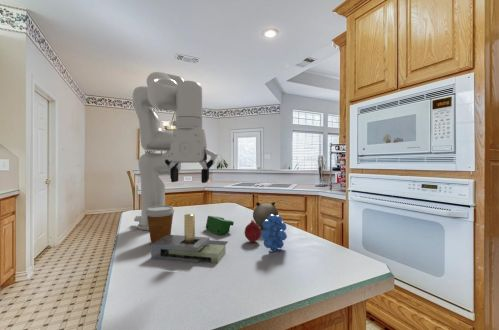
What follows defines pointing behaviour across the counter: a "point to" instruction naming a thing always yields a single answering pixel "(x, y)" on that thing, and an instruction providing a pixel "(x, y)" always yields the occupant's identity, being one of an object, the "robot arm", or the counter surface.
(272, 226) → the grapes
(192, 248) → the clevis
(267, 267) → the counter surface
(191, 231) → the pin
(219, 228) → the green angular piece
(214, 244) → the mat
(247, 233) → the onion
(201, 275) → the counter surface
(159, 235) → the disposable coffee cup
